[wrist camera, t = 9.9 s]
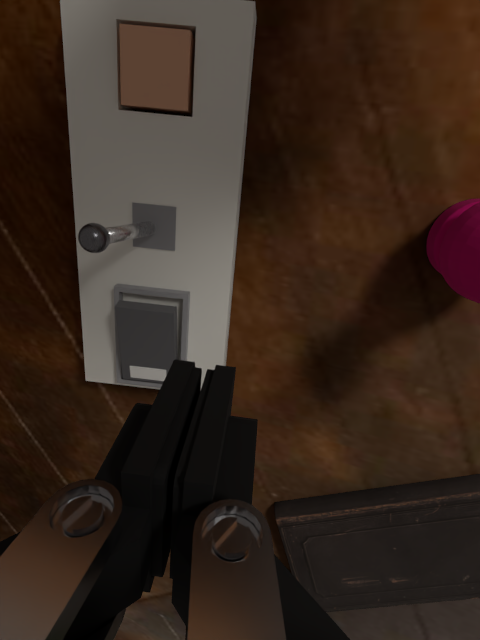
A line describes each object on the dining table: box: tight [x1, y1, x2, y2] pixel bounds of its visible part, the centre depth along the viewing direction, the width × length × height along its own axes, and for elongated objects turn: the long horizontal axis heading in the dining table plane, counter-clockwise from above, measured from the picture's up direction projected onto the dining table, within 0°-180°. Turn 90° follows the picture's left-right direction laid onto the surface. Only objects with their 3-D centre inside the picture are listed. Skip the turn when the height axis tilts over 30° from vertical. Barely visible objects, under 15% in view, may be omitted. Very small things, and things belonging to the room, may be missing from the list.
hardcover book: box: [275, 474, 480, 612], centre depth 42 cm, size 16×23×2 cm
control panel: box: [60, 0, 257, 389], centre depth 30 cm, size 28×12×4 cm, turn 175°
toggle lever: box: [78, 221, 156, 253], centre depth 26 cm, size 2×2×7 cm
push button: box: [119, 24, 196, 115], centre depth 26 cm, size 4×4×3 cm
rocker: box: [115, 300, 177, 383], centre depth 31 cm, size 7×4×1 cm, turn 175°
